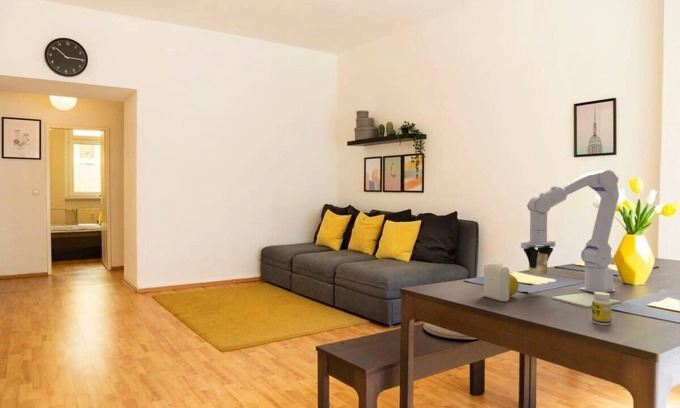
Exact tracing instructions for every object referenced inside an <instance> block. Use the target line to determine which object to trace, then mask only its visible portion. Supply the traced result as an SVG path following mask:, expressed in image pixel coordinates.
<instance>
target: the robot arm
mask: <svg viewBox="0 0 680 408" xmlns="http://www.w3.org/2000/svg"><path fill="white" fill-rule="evenodd" d="M618 182H619V177H618V176H617V174H616V173H615V172H614V171H612V170H610V169H606V170H605V169H604V170H590V171H588V172H586V173H584V174H582V175H581V176H579V177H577V178H576V179H574V180H572V181H570V182H569V183H567V184H565V185H564V186H556V185H555V186H551V187H550V189H549V190H547V191H545V192H540V193H539V196H533V197H532V198H530V199H529V201H528V203H527V204H526V207H527V209H528V211H529V220H530V221H529V225H530V226H529V241H526V242H520V249H523V252H524V253H525V255H526V258H527V260H528V266H529V265H530V268H536V263H537V255H538V253H543V254H548V259H547V263H548V261H549V258H550V256H551V254H552V252H553V251H554V247H556V241H555V240H548V212H549V211H550V210H551V208H553V207H555V206H556V205H557V206H558V205H559V204H560V203H562V202H564V201H566V200H567V197H568V195H571V194H573V193H575V192H577V191H580V190H581V189H583V188H585V187H589V188H590V189H592V190H593V191H595V192H596V193H597V194H598V195H599V197H600V201H599V206H598V210H597V212H596V213H597V214H596V217H595V221H594V226H593V230H592V235H591V238H590V240H587V242H586V243H585V246H584V248H583V250H582V251H581V254H580V258H581V260H582V261H583V263H584V287H579V288H578V289H579V290H581V291H586V292H590V293H594V292H605V293H609V292H610V293H611V292H616V289H615V288H614V271H613V270H612V268H611V267H610V266H609V265H610V264H611V262H612V247H611V245H610V244H609V239H610V235H611V230H612V227H613V221H614V219H615V214H616V209H617V206H618V201H619V198H620V193H619V188H618ZM536 248H537V249H536Z"/></svg>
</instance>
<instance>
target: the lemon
mask: <svg viewBox="0 0 680 408" xmlns="http://www.w3.org/2000/svg"><path fill="white" fill-rule="evenodd" d="M518 290H519V282H518V279H517V277H515V276H514V275H512V274H511V273H509V298H511V297H512V296H513V295H516V293H517V292H518Z"/></svg>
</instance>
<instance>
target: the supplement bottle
mask: <svg viewBox="0 0 680 408" xmlns="http://www.w3.org/2000/svg"><path fill="white" fill-rule="evenodd" d="M593 295H594V298H595V299H593V301H592V307H591V309H592V313H591V320H592V321H591V322H592V323H594V324H595V325H600V326H601V325H602V326H606V325H607V326H609V325H611V324H612V304H611V301H610V300H609V299H611V293H609V292H593Z"/></svg>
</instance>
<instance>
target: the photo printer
mask: <svg viewBox="0 0 680 408" xmlns="http://www.w3.org/2000/svg"><path fill="white" fill-rule="evenodd" d="M509 274H510V270H509V268H508V267H507V266H506V265H504V264H502V263H500V262H496V261H495V262H487V263H485V264H484V267H483V296H484V297H486V298H489V299H491V300H494V301H495V300H496V301H500V302H509V300H510V297H509Z"/></svg>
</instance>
